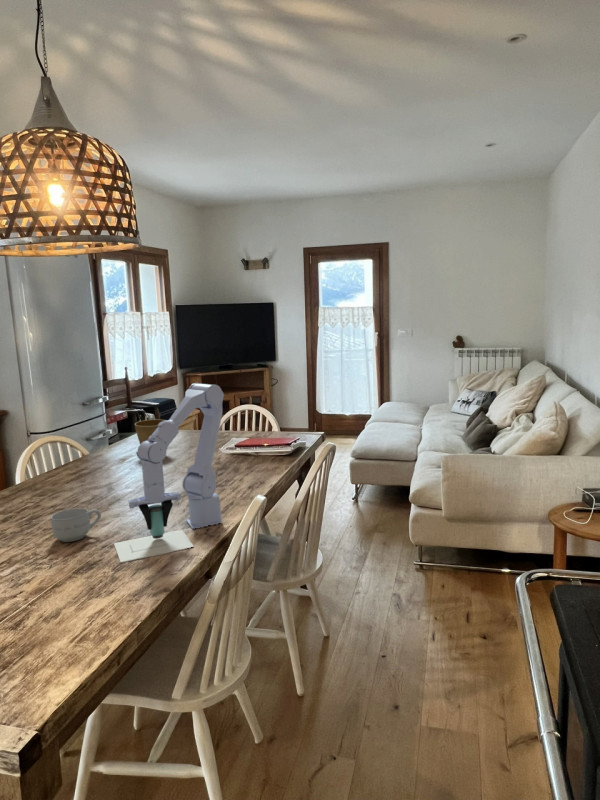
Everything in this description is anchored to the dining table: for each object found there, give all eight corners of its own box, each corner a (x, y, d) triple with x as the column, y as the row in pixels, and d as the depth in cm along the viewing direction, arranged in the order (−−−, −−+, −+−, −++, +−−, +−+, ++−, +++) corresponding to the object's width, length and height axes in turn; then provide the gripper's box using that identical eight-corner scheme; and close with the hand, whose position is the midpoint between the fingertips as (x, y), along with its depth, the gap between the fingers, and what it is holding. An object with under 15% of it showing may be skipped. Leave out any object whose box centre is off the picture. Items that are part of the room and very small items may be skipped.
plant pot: (131, 459, 257) (128, 425, 254) (148, 451, 271) (146, 418, 268) (159, 460, 252) (156, 426, 250) (176, 452, 266) (173, 419, 264)
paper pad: (182, 530, 170) (182, 529, 170) (193, 547, 158) (193, 546, 158) (113, 544, 162) (113, 543, 162) (120, 563, 150) (120, 561, 150)
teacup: (50, 547, 161) (47, 521, 160) (55, 533, 171) (52, 509, 170) (101, 540, 165) (98, 515, 164) (103, 527, 175) (101, 503, 174)
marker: (163, 532, 166) (160, 503, 165) (166, 537, 162) (164, 507, 161) (149, 535, 164) (146, 506, 163) (152, 540, 161) (149, 510, 159)
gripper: (175, 474, 167) (178, 517, 169) (125, 482, 161) (129, 527, 163) (181, 480, 161) (184, 525, 163) (129, 489, 155) (133, 535, 157)
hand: (157, 527), depth 163 cm, fingers closed on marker, 4 cm apart
